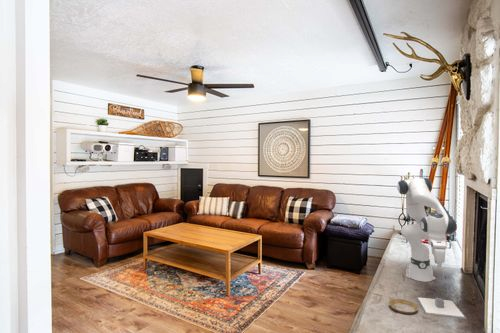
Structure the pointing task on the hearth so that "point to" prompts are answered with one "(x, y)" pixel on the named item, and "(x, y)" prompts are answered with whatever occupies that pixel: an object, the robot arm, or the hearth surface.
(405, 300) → the plant saucer
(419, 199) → the robot arm
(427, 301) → the cover sheet
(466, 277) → the hearth surface
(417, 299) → the charcoal mat
